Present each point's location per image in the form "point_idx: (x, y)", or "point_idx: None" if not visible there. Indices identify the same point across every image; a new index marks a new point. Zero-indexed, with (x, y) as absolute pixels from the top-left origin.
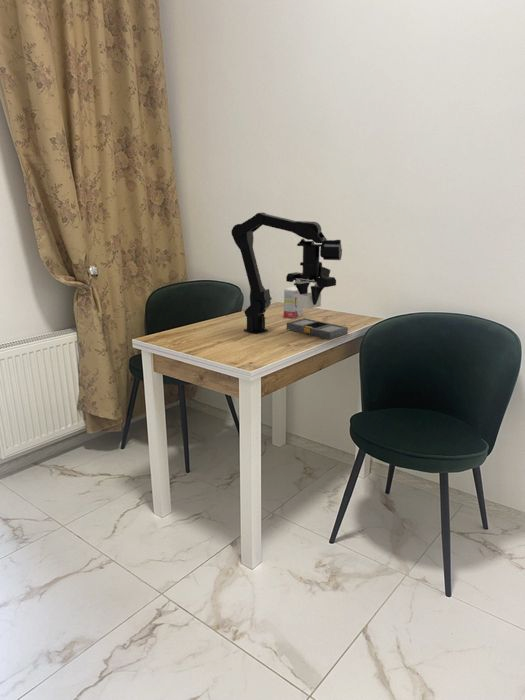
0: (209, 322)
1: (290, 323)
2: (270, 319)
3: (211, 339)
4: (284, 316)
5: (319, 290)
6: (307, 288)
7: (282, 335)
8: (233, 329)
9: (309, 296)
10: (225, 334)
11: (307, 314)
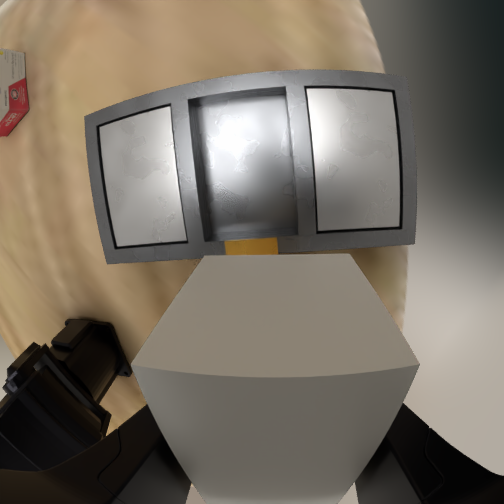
0: (10, 344)
1: (126, 260)
2: (6, 197)
3: None
4: (6, 134)
5: (455, 496)
6: (120, 498)
7: None
8: None
9: (339, 495)
10: (108, 407)
11: (34, 34)
